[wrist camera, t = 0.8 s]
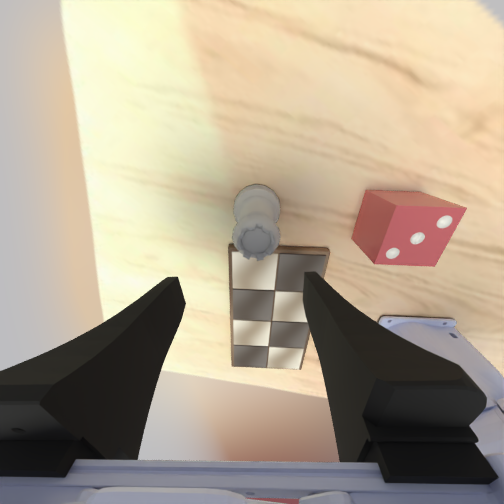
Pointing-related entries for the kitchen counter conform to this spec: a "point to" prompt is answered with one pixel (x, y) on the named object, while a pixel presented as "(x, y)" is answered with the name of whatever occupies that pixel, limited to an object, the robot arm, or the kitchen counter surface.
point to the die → (405, 227)
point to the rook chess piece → (256, 222)
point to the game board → (271, 306)
